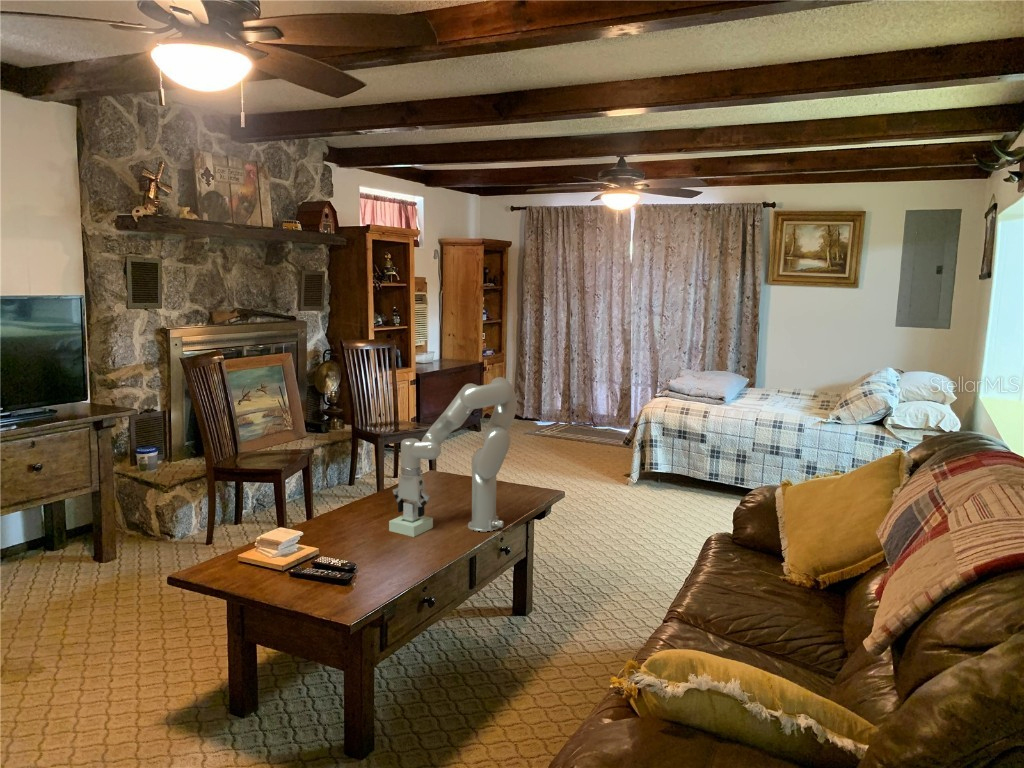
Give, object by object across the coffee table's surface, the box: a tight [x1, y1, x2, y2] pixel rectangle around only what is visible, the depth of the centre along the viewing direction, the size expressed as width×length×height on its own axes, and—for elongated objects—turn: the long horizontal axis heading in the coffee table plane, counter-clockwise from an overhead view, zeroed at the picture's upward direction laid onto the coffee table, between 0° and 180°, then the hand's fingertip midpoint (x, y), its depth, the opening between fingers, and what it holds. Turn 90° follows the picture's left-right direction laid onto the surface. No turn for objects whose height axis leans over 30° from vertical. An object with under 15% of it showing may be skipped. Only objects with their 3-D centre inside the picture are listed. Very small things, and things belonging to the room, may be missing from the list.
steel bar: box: [402, 500, 420, 523], centre depth 279 cm, size 4×4×11 cm
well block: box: [388, 514, 434, 538], centre depth 279 cm, size 12×12×4 cm
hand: (411, 513), depth 279 cm, fingers open, 9 cm apart
